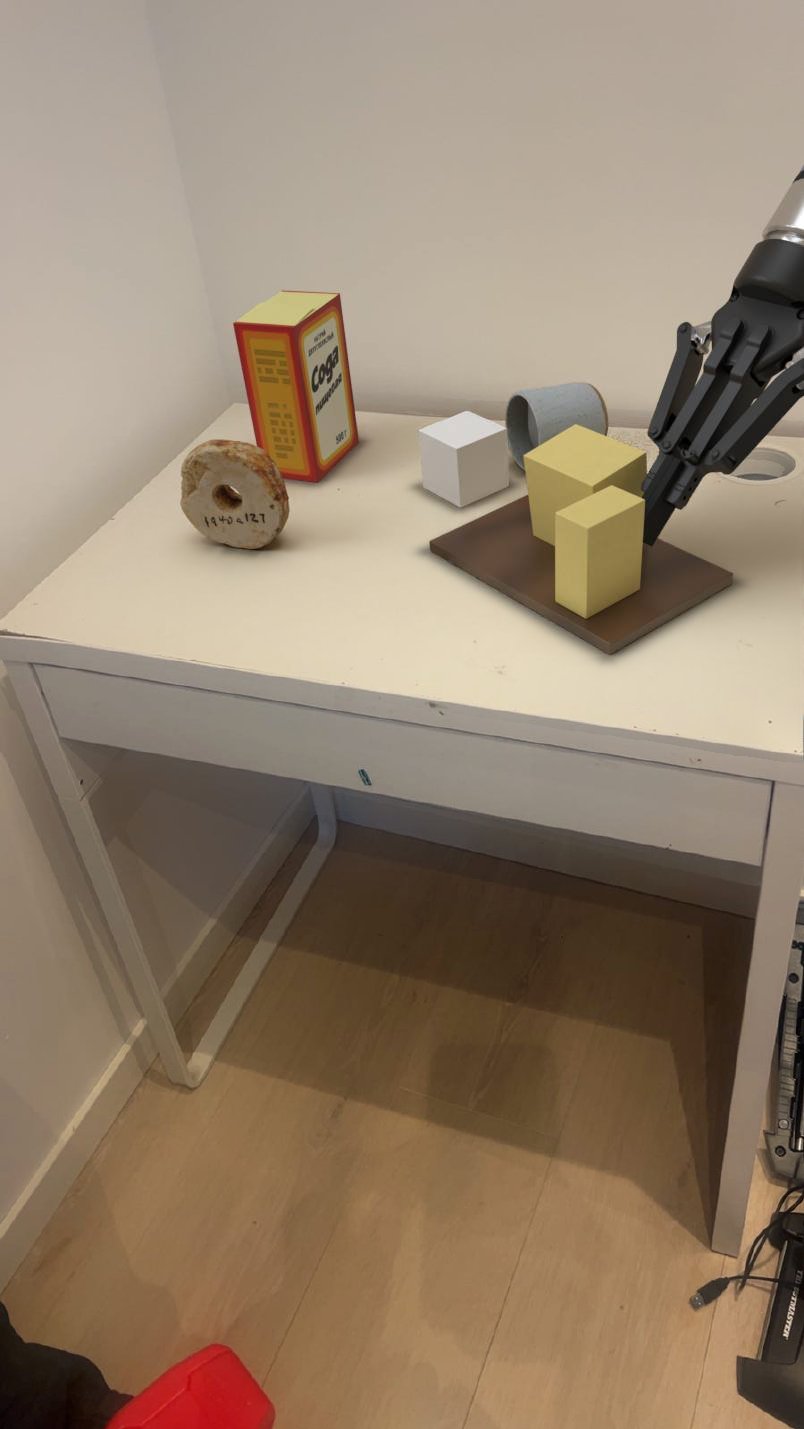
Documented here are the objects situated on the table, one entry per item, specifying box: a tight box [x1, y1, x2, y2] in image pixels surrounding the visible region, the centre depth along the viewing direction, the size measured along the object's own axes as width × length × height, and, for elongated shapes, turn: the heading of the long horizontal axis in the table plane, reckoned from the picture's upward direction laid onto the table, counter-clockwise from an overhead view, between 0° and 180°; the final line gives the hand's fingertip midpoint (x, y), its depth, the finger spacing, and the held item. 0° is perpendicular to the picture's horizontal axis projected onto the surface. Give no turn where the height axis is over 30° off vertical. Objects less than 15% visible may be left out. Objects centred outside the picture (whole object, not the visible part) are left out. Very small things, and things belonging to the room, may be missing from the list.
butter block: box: [524, 424, 648, 546], centre depth 87 cm, size 8×6×8 cm
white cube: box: [417, 410, 510, 509], centre depth 99 cm, size 6×6×6 cm
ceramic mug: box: [504, 381, 609, 471], centre depth 103 cm, size 11×8×8 cm
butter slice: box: [555, 485, 645, 619], centre depth 80 cm, size 4×6×8 cm, turn 127°
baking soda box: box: [232, 289, 360, 483], centre depth 104 cm, size 10×6×16 cm
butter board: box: [429, 494, 735, 655], centre depth 88 cm, size 22×14×1 cm, turn 37°
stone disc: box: [179, 438, 291, 550], centre depth 94 cm, size 10×4×10 cm, turn 69°
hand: (637, 537), depth 82 cm, fingers closed
